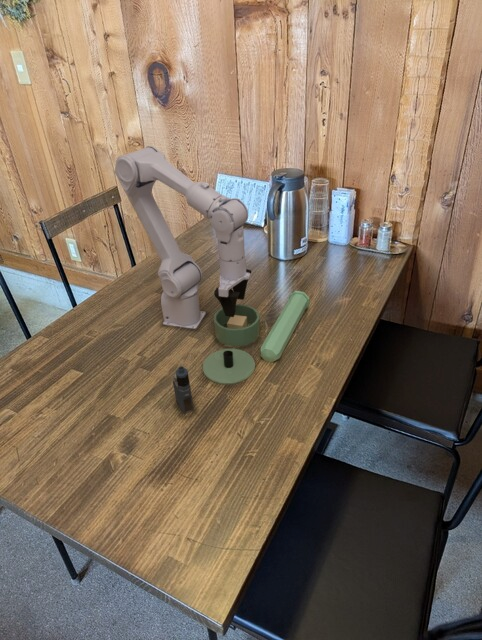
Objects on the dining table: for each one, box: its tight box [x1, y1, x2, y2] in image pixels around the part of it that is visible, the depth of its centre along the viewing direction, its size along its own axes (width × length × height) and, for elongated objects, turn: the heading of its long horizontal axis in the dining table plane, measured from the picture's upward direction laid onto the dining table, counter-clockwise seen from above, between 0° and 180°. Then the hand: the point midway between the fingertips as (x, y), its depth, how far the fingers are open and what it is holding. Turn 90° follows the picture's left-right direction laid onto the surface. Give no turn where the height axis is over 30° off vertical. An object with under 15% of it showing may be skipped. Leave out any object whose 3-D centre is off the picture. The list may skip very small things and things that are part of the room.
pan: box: [213, 303, 261, 348], centre depth 112 cm, size 11×11×6 cm
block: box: [226, 315, 248, 329], centre depth 112 cm, size 4×4×4 cm
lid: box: [202, 348, 256, 386], centre depth 101 cm, size 12×12×4 cm
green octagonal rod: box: [260, 290, 311, 363], centre depth 111 cm, size 6×6×25 cm
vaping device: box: [172, 365, 195, 415], centre depth 90 cm, size 3×5×12 cm, turn 28°
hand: (234, 307), depth 107 cm, fingers open, 7 cm apart
